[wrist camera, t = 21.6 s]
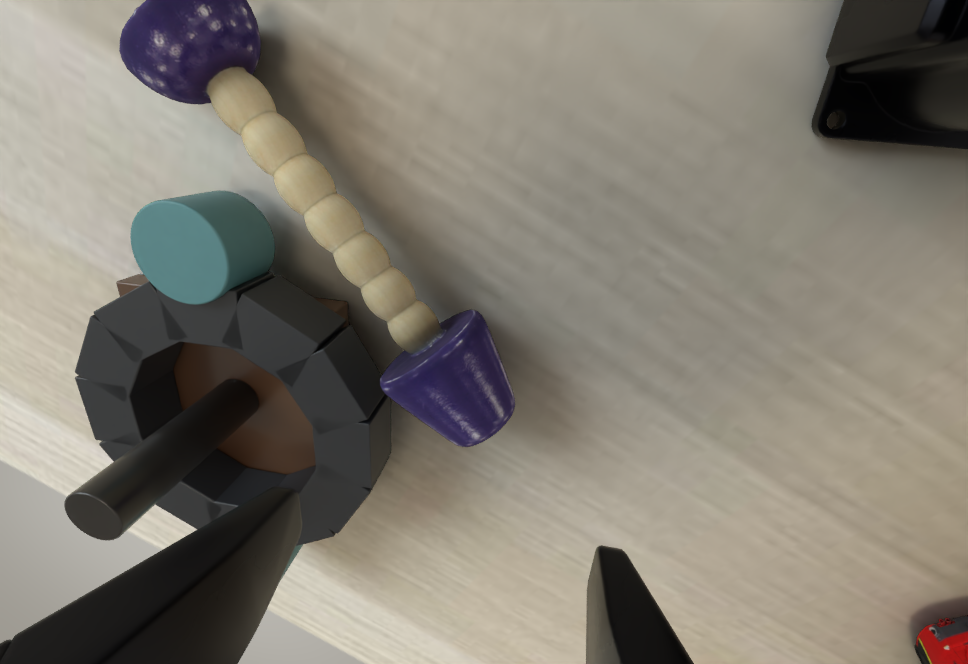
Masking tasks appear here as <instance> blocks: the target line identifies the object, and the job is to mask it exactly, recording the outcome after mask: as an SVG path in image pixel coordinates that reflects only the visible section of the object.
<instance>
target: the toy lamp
mask: <svg viewBox="0 0 968 664" xmlns="http://www.w3.org/2000/svg"><path fill="white" fill-rule="evenodd" d="M260 45H261V40H260V35H259V30H258V25H257V21H256V18H255V16H254V14H253V12H252V9H251V7H250V6H249V4H248V2H247V0H146V1H145V2H144V3H143V4H142V5H141V6H140V7H138V8H136V10H135V11H134V13H133V15H132V16H131V17H130V19H129V20H128V21H127V23H126V24H125V27H124V28H123V30H122V34H121V38H120V54H121V58H122V60H123V62H124V64H125V65H126V67H127V69H128V70H129V71H130V72H131V73H132V74H133V75H134V76H135V77H137V78H138V79H139V80H140V81H141V82H142V83H144V84H145V85H146V86H148V87H149V88H151V89H152V90H154V91H155V92H157V93H159V94H161V95H163V96H165V97H167V98H170V99H172V100H175V101H179V102H183V103H189V104H205V103H212V105H213V107H214V109H215V111H216V112H217V114H218V116H219V117H220V118H221V119H222V121H223V122H224V123H225V124H226V125H227V126H228V127H229V128H231V129H232V130H233V131H235V132H236V133H238V134H240V135H241V136H242V139H243V143H244V145H245V148H246V150H247V152H248V154H249V155H250V157H251V158H252V159H253V161H254V162H255V163H256V164H257V165H258V166H259V167H260V168H261V169H263V170H264V171H265V172H266V173H268V174H269V175H271V176H273V177H274V182H275V185H276V188H277V190H278V192H279V194H280V196H281V197H282V198H283V200H284V201H285V202H286V203H287V204H288V205H289V206H290V207H291V208H292V209H293V210H295V211H296V212H298V213H299V214H301V215H303V216H304V219H305V223H306V226H307V228H308V230H309V232H310V234H311V235H312V237H313V238H314V239H315V240H316V241H317V242H318V244H319V245H321V246H322V247H323V248H325V249H326V250H328V251H330V252H332V253H333V256H334V259H335V262H336V265H337V267H338V269H339V270H340V272H341V273H342V275H343V276H344V277H345V278H346V279H347V280H348V281H349V282H351V283H352V284H354V285H355V286H358V287H359V288H360V289H361V292H362V296H363V299H364V301H365V303H366V305H367V306H368V308H369V309H370V310H371V311H372V312H373V313H374V314H375V315H376V316H377V317H379V318H381V319H383V320H385V321H386V322H387V325H388V329H389V332H390V334H391V336H392V338H393V339H394V341H395V342H396V343H397V344H398V345H399V346H400V347H401V348H402V349H403V350H405V351H403V352H402V353H401V354H400V355H399V356H398V357H396V359H395V360H394V361H393V362H392V363H391V364H390V365H389V366H388V367H387V369H386V370H385V372H384V373H383V375H382V377H381V378H380V386H381V388H382V390H383V391H384V393H385V394H386V395H387V396H389V397H390V398H391V399H392V400H394V401H395V402H396V403H398V404H399V405H400V406H402V407H403V408H404V409H406V410H407V411H409V412H410V413H412V414H413V415H414V416H415V417H417V418H418V419H419V420H421V421H422V422H424V423H425V424H427V425H428V426H429V427H431V428H432V429H434V430H435V431H436V432H438V433H439V434H441V435H442V436H443V437H445V438H446V439H448V440H449V441H451V442H452V443H454V444H456V445H458V446H462V447H470V446H474V445H477V444H479V443H481V442H483V441H485V440H487V439H489V438H490V437H491V436H493V435H494V434H496V433H497V432H498V431H499V430H500V429H501V428H502V427H503V426H504V425H505V424H506V423H507V421H508V420H509V419H510V417H511V416H512V414H513V411H514V408H515V398H514V394H513V391H512V388H511V385H510V383H509V380H508V377H507V375H506V372H505V369H504V367H503V364H502V361H501V359H500V356H499V354H498V351H497V349H496V346H495V344H494V341H493V339H492V336H491V333H490V331H489V329H488V326H487V324H486V322H485V320H484V318H483V317H482V315H481V314H480V313H479V312H478V311H476V310H467V311H464V312H461V313H459V314H457V315H455V316H453V317H451V318H449V319H447V320H445V321H444V322H442V323H441V324H439V321H438V319H437V317H436V315H435V314H434V313H433V311H432V310H431V309H430V308H429V307H428V306H427V305H426V304H424V303H422V302H420V301H418V300H417V299H416V295H415V291H414V289H413V286H412V284H411V283H410V281H409V280H408V279H407V277H406V276H405V275H404V274H403V273H402V272H400V271H399V270H398V269H396V268H394V267H392V266H391V264H390V259H389V256H388V254H387V252H386V250H385V248H384V247H383V245H382V244H381V243H380V242H379V241H378V240H377V239H376V238H375V237H374V236H373V235H371V234H370V233H368V232H366V231H365V230H364V225H363V222H362V219H361V217H360V215H359V213H358V212H357V210H356V209H355V208H354V206H353V205H352V204H351V203H350V202H349V201H348V200H347V199H346V198H344V197H343V196H341V195H339V194H337V193H336V188H335V185H334V182H333V180H332V177H331V176H330V174H329V173H328V171H327V170H326V168H325V167H324V166H323V165H322V164H321V163H320V162H319V161H318V160H316V159H315V158H314V157H312V156H310V155H308V154H307V150H306V147H305V144H304V142H303V139H302V138H301V136H300V134H299V133H298V131H297V130H296V129H295V127H294V126H293V125H292V124H291V123H290V122H289V121H288V120H287V119H285V118H284V117H283V116H281V115H279V114H278V113H277V112H276V107H275V104H274V102H273V99H272V97H271V96H270V94H269V92H268V91H267V89H266V88H265V87H264V86H263V84H262V83H261V82H260V81H259V80H258V79H256V78H255V77H254V76H253V75H252V74H253V72H254V71H255V69H256V67H257V64H258V61H259V57H260V50H261V49H260Z"/></svg>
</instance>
